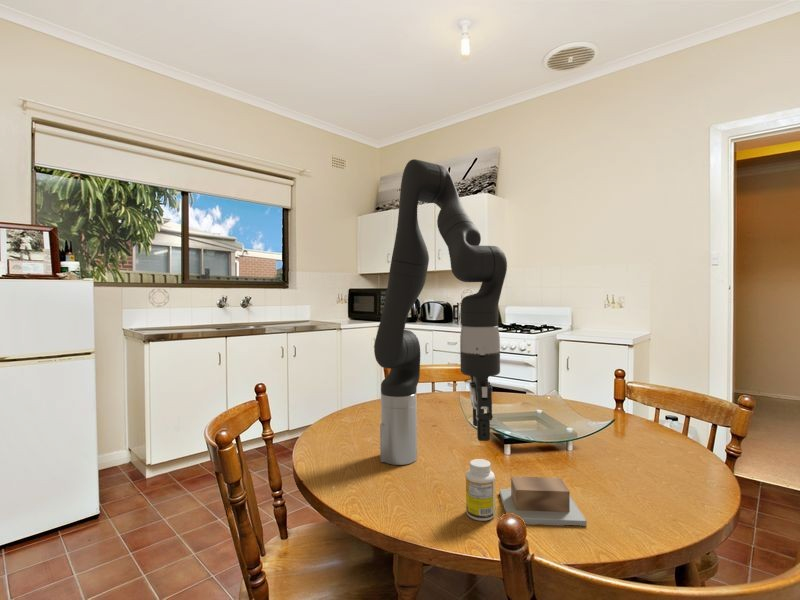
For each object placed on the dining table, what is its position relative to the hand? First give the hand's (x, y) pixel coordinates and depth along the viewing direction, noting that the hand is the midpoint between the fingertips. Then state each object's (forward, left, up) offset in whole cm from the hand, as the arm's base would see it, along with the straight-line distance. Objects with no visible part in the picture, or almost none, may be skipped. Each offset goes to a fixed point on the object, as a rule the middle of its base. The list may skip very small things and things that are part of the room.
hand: (480, 432), depth 84 cm
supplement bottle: (0, 0, -16) cm, 16 cm away
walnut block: (+12, +3, -15) cm, 19 cm away
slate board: (+12, +3, -16) cm, 20 cm away
